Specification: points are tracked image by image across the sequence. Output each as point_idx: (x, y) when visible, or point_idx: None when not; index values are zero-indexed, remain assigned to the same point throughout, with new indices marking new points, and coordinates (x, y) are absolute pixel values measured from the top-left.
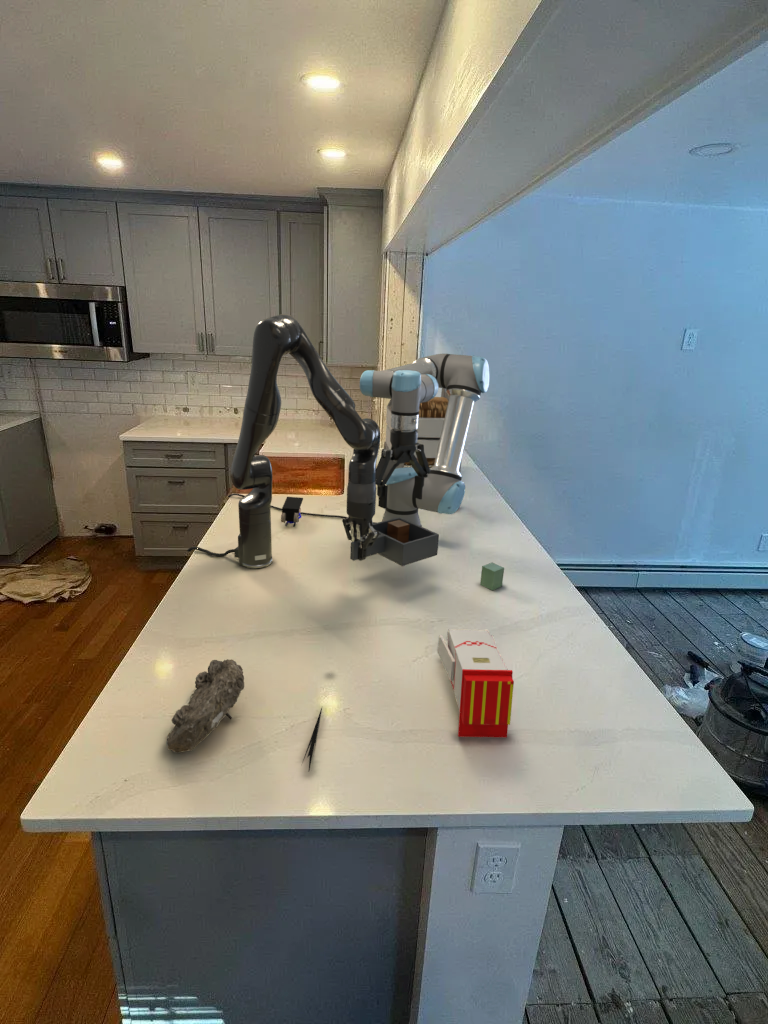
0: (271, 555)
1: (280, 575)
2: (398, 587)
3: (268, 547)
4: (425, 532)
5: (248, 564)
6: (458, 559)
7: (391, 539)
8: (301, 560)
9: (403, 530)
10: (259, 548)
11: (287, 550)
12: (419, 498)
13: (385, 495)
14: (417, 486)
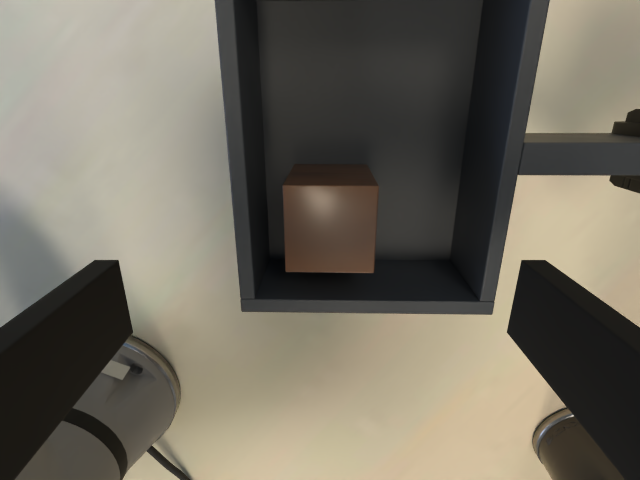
0: (561, 434)
1: None
2: None
3: (600, 455)
4: (242, 73)
5: None
6: (53, 130)
7: (534, 77)
8: (478, 390)
9: (331, 179)
10: None
11: (463, 449)
12: (115, 271)
13: (635, 330)
14: (53, 373)
